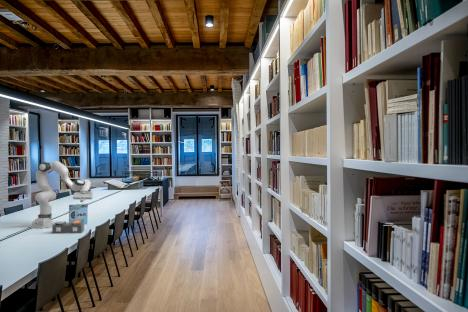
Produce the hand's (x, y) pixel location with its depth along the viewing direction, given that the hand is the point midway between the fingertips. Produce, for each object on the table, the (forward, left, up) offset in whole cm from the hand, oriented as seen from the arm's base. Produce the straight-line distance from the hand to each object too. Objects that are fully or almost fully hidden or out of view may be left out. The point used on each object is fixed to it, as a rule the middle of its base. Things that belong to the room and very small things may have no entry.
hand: (81, 201), depth 369 cm
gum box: (-11, +27, -30) cm, 41 cm away
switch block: (-8, -15, -29) cm, 34 cm away
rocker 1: (-16, -15, -19) cm, 29 cm away
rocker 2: (0, -15, -19) cm, 25 cm away
